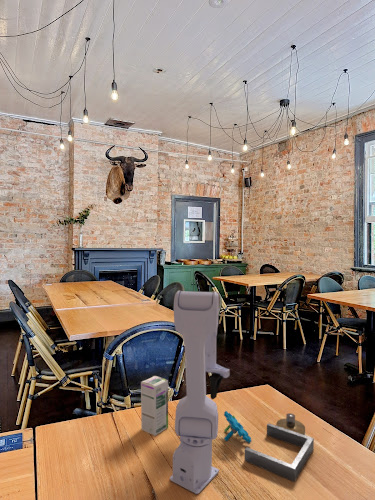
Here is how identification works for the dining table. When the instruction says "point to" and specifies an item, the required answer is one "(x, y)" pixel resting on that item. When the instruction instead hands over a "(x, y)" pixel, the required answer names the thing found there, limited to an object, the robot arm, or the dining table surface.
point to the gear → (235, 428)
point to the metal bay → (277, 465)
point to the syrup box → (154, 405)
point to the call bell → (291, 424)
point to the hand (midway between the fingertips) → (206, 395)
